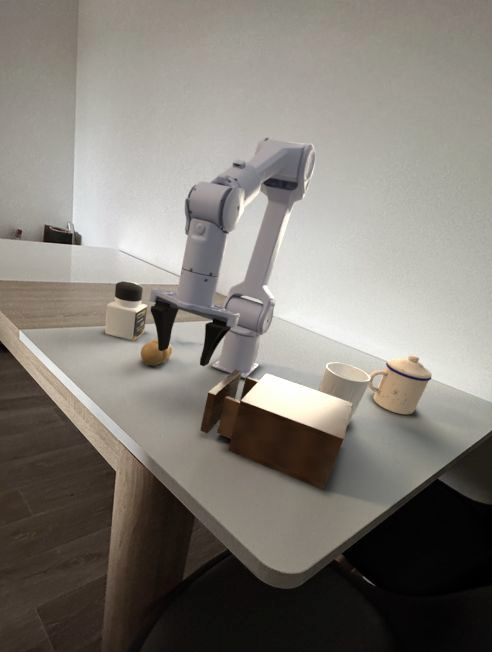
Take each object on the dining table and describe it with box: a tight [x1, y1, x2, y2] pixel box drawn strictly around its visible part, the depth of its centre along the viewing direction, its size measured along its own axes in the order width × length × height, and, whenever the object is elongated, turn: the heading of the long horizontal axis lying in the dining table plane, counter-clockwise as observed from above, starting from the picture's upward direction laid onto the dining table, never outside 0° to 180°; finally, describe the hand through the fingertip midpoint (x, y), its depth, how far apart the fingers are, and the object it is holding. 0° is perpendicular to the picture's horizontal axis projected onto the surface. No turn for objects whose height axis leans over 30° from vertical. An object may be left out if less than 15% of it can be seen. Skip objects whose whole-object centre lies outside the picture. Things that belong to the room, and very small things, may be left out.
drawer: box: [199, 369, 260, 440], centre depth 62 cm, size 15×11×7 cm
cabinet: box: [227, 372, 353, 491], centre depth 60 cm, size 15×13×9 cm
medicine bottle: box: [104, 280, 148, 341], centre depth 91 cm, size 7×7×12 cm
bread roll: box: [140, 338, 173, 366], centre depth 81 cm, size 8×5×5 cm, turn 156°
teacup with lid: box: [367, 354, 433, 415], centre depth 83 cm, size 12×9×12 cm
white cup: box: [318, 362, 371, 427], centre depth 72 cm, size 8×8×10 cm
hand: (183, 356), depth 64 cm, fingers open, 7 cm apart
